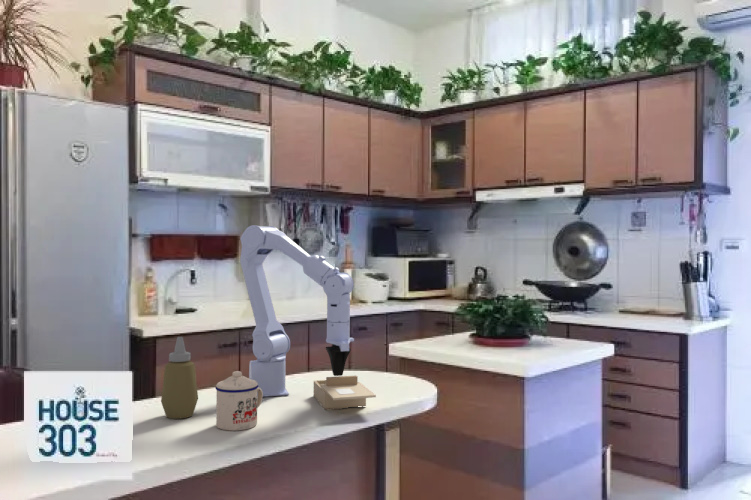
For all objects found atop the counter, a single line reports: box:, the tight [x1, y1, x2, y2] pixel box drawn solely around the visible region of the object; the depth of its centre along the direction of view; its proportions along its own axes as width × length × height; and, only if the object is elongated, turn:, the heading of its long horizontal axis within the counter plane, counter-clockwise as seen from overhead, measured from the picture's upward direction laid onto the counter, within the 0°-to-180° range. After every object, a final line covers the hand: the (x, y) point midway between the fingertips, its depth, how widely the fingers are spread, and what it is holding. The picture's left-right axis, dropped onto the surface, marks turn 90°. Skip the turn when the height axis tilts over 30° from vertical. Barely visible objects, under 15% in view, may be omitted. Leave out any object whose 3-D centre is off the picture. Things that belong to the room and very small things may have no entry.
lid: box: [320, 375, 377, 400], centre depth 150 cm, size 14×10×2 cm
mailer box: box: [313, 379, 367, 411], centre depth 158 cm, size 14×10×4 cm
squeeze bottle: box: [160, 336, 199, 420], centre depth 144 cm, size 8×8×18 cm
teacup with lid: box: [214, 370, 263, 432], centre depth 138 cm, size 12×9×12 cm
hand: (337, 375), depth 159 cm, fingers closed
